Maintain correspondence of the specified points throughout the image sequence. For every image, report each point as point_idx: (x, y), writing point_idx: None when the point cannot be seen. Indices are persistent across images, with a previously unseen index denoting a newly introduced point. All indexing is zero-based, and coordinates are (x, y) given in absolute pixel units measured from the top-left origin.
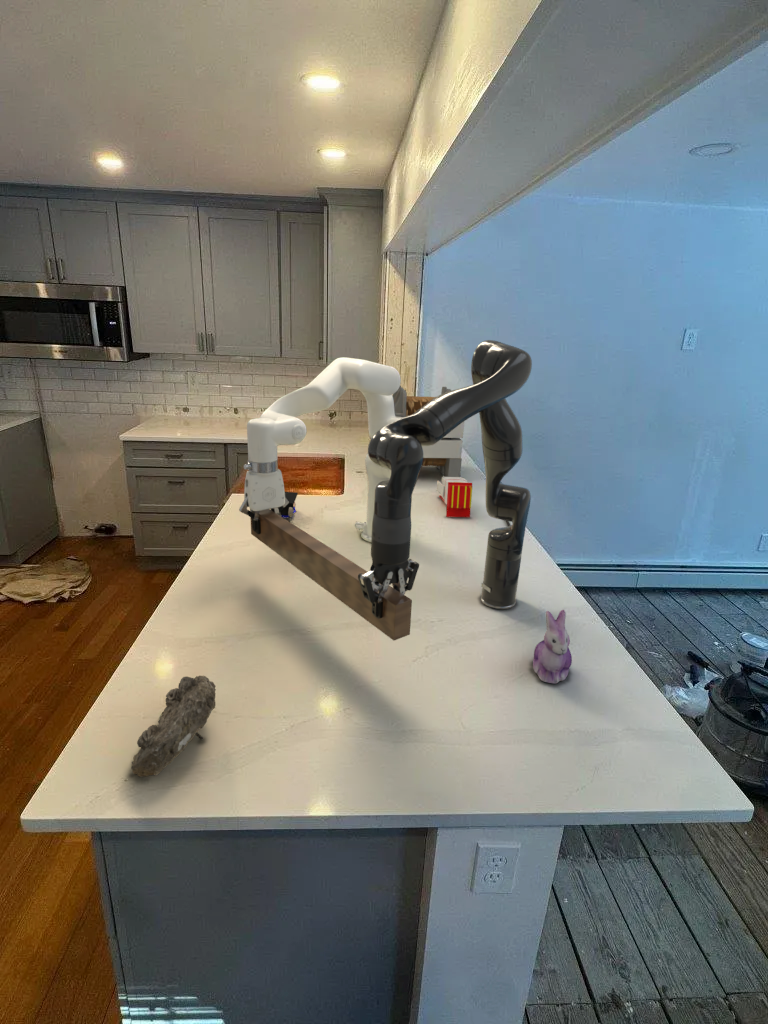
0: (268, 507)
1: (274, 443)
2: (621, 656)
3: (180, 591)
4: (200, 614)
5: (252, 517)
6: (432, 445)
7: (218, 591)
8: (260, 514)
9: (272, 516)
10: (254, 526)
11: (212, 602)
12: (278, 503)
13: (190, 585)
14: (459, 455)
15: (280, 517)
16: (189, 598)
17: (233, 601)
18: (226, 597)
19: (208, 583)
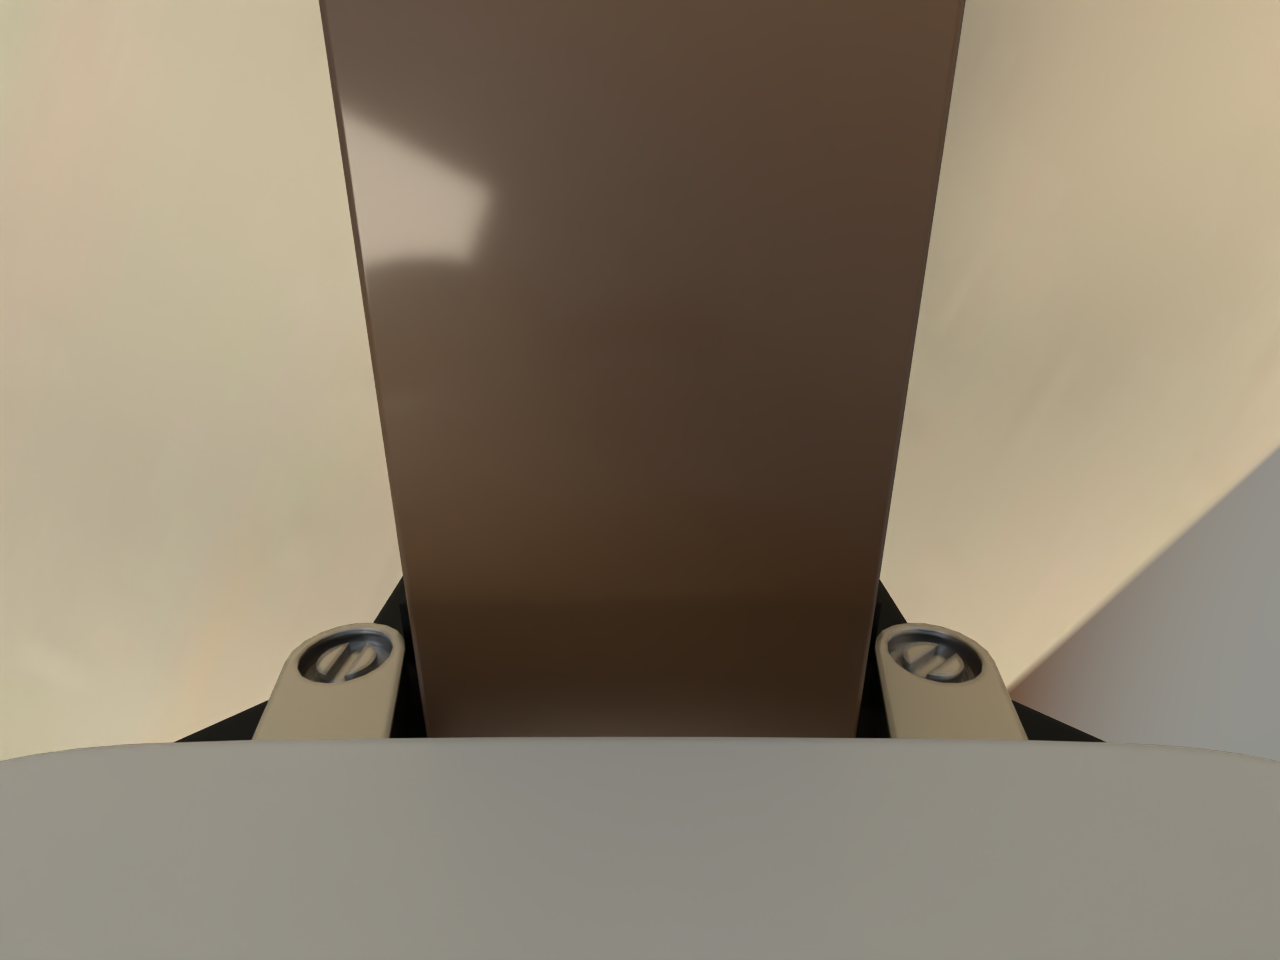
0: (676, 773)
1: None
2: None
3: (1137, 549)
4: (1245, 184)
5: (1019, 717)
6: None
7: (963, 430)
8: (849, 713)
9: (628, 403)
10: (879, 594)
11: (1082, 306)
12: (82, 866)
13: (1048, 589)
14: None
15: (414, 146)
16: (1154, 438)
17: (967, 238)
18: (971, 322)
19: (951, 560)
